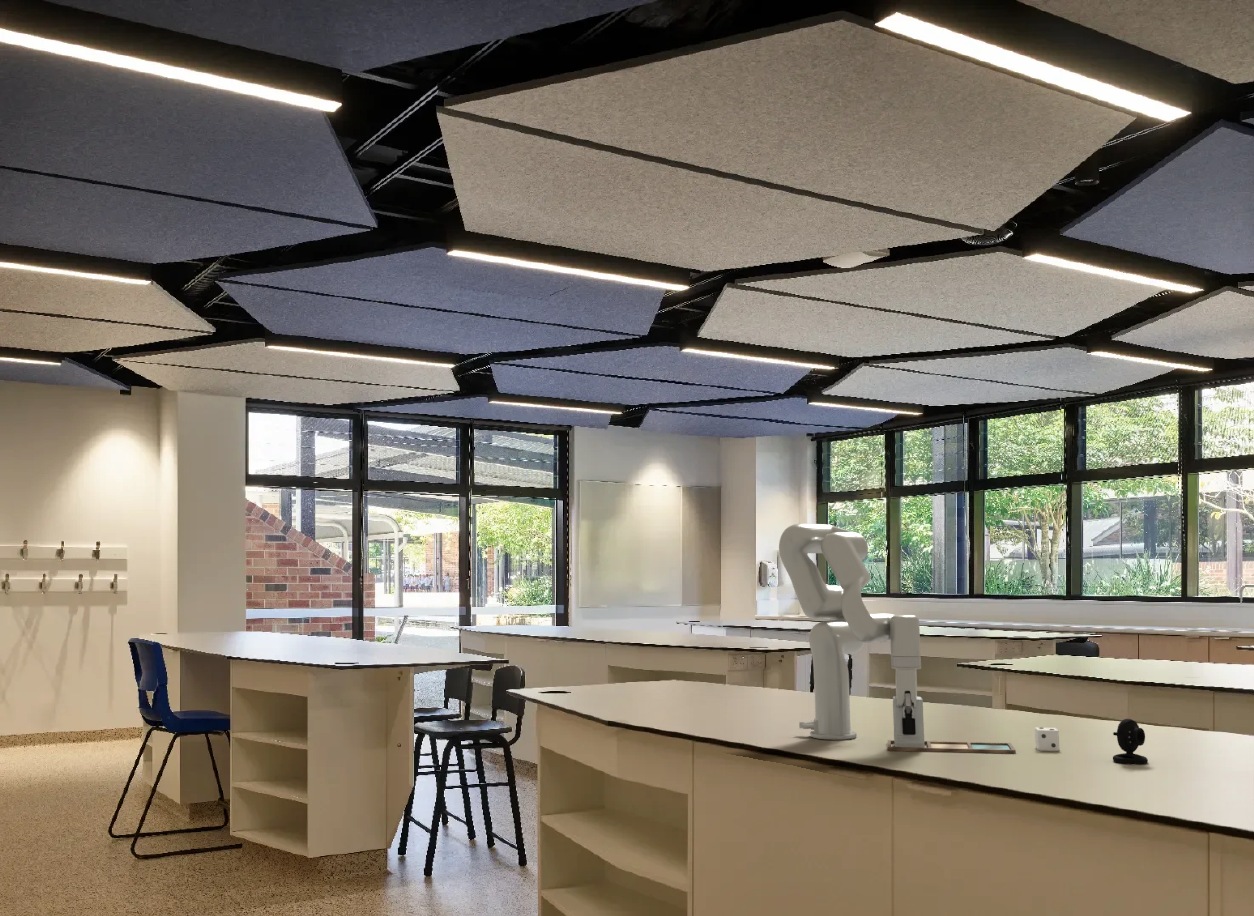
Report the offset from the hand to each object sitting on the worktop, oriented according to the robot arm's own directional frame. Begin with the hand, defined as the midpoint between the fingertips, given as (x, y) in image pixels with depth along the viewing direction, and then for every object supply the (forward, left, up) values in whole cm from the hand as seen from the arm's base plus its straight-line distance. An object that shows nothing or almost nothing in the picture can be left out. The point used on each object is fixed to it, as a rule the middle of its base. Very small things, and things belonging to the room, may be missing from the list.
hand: (908, 731), depth 280 cm
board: (+10, 0, -4) cm, 11 cm away
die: (+34, +3, -4) cm, 34 cm away
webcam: (+50, -14, -4) cm, 52 cm away
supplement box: (0, 0, -4) cm, 4 cm away
